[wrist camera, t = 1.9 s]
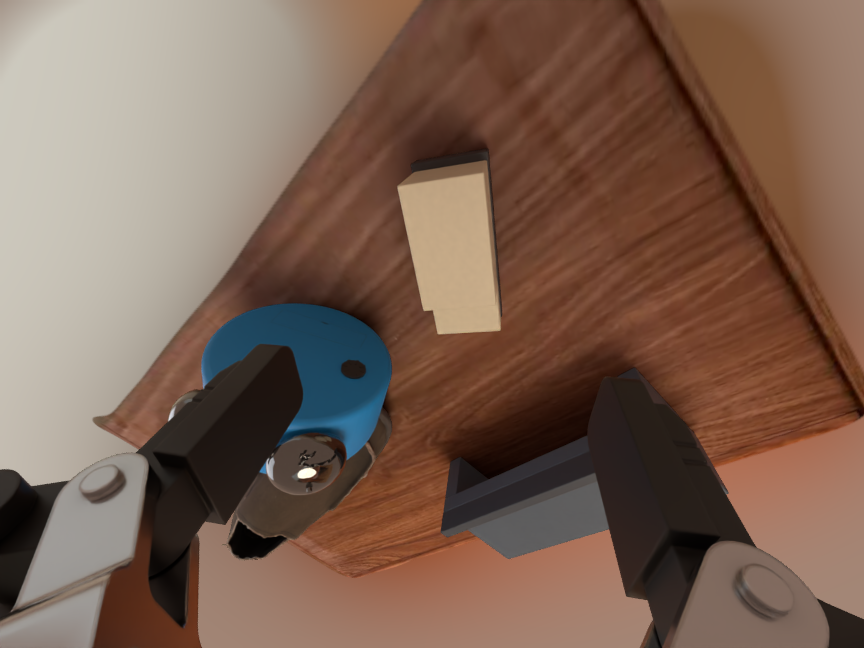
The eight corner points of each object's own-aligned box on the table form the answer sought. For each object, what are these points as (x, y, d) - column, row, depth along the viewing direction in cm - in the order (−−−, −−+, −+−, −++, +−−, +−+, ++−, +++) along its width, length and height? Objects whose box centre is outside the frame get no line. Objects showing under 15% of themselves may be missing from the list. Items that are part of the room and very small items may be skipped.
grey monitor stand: (634, 367, 30) (672, 442, 24) (695, 433, 33) (744, 519, 26) (450, 461, 41) (440, 532, 34) (507, 506, 44) (508, 580, 37)
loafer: (422, 401, 37) (396, 498, 28) (320, 517, 52) (283, 602, 43) (327, 347, 35) (267, 432, 26) (251, 483, 50) (198, 565, 42)
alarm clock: (268, 335, 35) (139, 466, 23) (270, 281, 32) (119, 400, 19) (394, 377, 35) (336, 530, 23) (410, 329, 32) (351, 477, 20)
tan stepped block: (415, 160, 25) (392, 176, 20) (488, 148, 23) (484, 161, 18) (442, 312, 31) (430, 354, 26) (502, 308, 29) (502, 351, 24)
